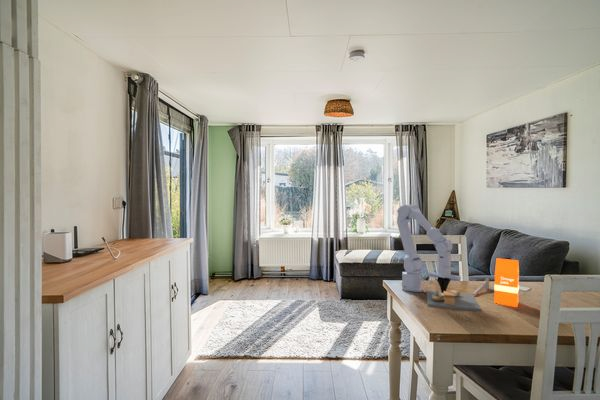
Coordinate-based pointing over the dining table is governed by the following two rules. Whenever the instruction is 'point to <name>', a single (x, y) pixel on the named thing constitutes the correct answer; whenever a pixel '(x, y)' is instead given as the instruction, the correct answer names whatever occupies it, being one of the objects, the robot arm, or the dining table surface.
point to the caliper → (482, 286)
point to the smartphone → (523, 288)
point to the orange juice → (506, 282)
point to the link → (440, 296)
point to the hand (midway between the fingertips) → (443, 293)
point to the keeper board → (454, 301)
